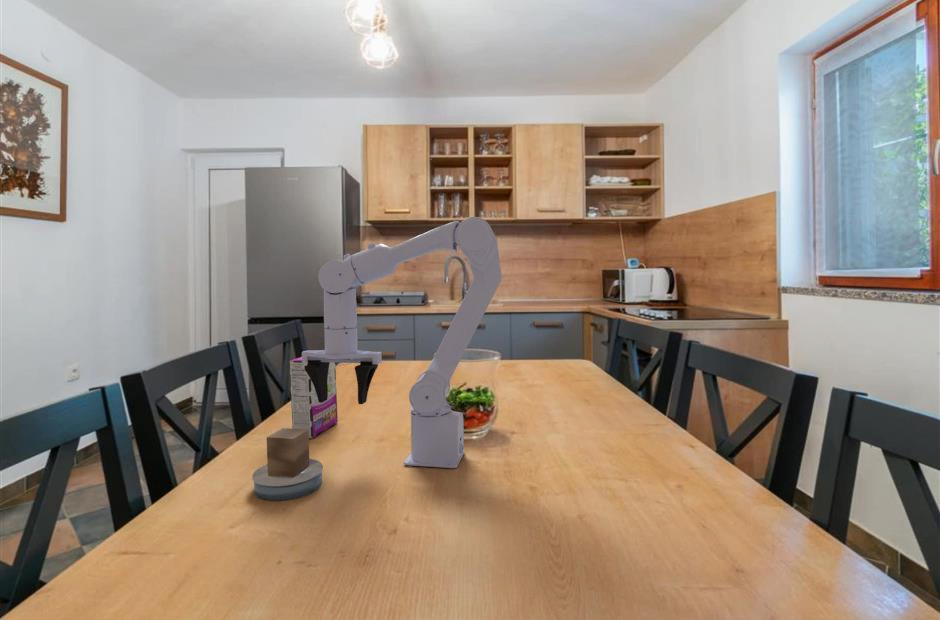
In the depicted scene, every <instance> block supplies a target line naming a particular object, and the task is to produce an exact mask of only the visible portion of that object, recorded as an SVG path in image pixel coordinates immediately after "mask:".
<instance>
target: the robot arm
mask: <svg viewBox="0 0 940 620" xmlns="http://www.w3.org/2000/svg"><path fill="white" fill-rule="evenodd" d="M457 247H458V248H459V249H460V251H461V253H462V254H463V255H464V257H466V259H467V261H468V264H469V268H470V270H471V273H472V276H473V280H472V282H471V284H470V285H469V286H468V287H469V288H468V290H467V291H466V293H465V296H464V297H463V300H462V301H461V303H460V305H459V307H458V308H457V311H456V313H455V315H454V317H453V319H452V321H451V322H450V325H449V326H448V329H447V331H446V332H445V334H444V336H443V338H442V340H441V341H440V344H439V346H438V348H437V351H436V352H435V354H434V356H433V358H432V359H431V362H430V363H429V365H428V367H427V369H426V370H425V371H423V372H422V373H421V374H420V376H419V377H418V379H417V381H416V382H415V383H414V384H413V385H412V386H411V388H410V390H409V393H408V394H409V395H408V397H409V398H408V400H409V404H410V406H411V407H410V445H411V446H410V451H411V452H410V454H409V455H408V456H407V458H406V459H405V460H404V462H403V464H404V465H405V466H411V467H413V466H416V467H432V468H444V469H445V468H446V469H447V468H448V469H457V468H458V466H459V465H460V462H461V460H462V458H463V456H464V454H465V449H464V448H465V446H464V445H465V443H464V441H465V440H464V439H465V438H464V435H465V433H464V427H465V426H464V415H463V412H461V411H454V410H452V408H451V405H450V404H449V403H448V401H447V400H446V399H447V396H448V394H449V392H450V388H451V380H452V378H453V375H454V373H455V371H456V369H457V367H458V365H459V363H460V362H461V359H462V357H463V356H464V353H465V352H466V351H467V348H468V346H469V345H470V342H471V340H472V338H473V336H474V334H475V332H476V330H477V329H478V327H479V325H480V323H481V320H482V319H483V316H484V315H485V313H486V311H487V310H488V307H489V306H490V303H491V301H492V299H493V298H494V295H495V294H496V292H497V290H498V287H499V286H500V284H501V282H502V277H503V276H502V269H501V262H500V253H499V246H498V240H497V237H496V235H495V232H494V231H493V229H492V227H491V225H490V224H489V222H487V220H485V219H484V218H481V217H478V216H469V217H467V218H465V219H463V220H462V221H459V220H458V221H456V220H455V221H451V222H449V223H446V224H444V225H440V226H437V227H435V228H433V229H430V230H428V231H427V232H424V233H422V234H419V235H417V236H415V237H412V238H410V239H407V240H406V241H404V242H401V243H399V244H396V245H394V246H391V247H390V246H388V245H386V244H385V243H384V244H383V243H379V244H377V243H376V242H375V243H374V242H372V243H369V244H368V245H367V248H366V249H364V250H361V251H359V252H356V253H354V254H350V253H347V254H344V255H343V260H340V259H336V258H335V259H333V258H332V259H330V260H329V261H327V262H326V263H324V264H323V265H322V266H321V267H320V269H319V271H318V275H317V276H318V283H319V284H320V287H321V288H322V289H323V323H324V324H323V325H324V332H323V333H324V349H321V350H320V349H319V350H316V349H315V350H303V351H302V352H301V357H302V362H308V363H307V365H306V366H304V367H305V371H306V372H307V374H308V375H309V377H310V379H311V381H312V383H313V385H314V388H315V390H316V394H317V397H318V401H319V402H320V403H322V402H324V401H326V400H327V397H328V386H327V379H328V370H329V364H330V362H335V363H342V364H343V363H345V364H357V365H356V366H354V371H355V376H356V381H357V383H356V384H357V403H358V405H364V404H365V403H366V402H367V400H368V393H369V390H370V387H371V386H370V385H371V383H372V380H373V377H374V375H375V373H376V371H377V369H378V367H379V364H381V363H382V359H383V357H382V351H369V350H358V310H357V309H358V307H357V306H358V304H357V303H358V302H357V288H359V286H361V287H363V286H365V285H368V284H370V283H373V282H376V281H378V280H381V279H383V278H386V277H389V276H391V275H393V274H395V272H396V270H397V267H398V266H399V265H400V264H402V263H405V262H407V261H410V260H414V259H417V258H419V257H422V256H425V255H428V254H431V253H434V252H436V251H441V250H442V251H447V252H455V253H456V252H457V251H458V250H457V249H458V248H457Z"/></svg>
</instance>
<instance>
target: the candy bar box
mask: <svg viewBox="0 0 940 620" xmlns="http://www.w3.org/2000/svg"><path fill="white" fill-rule="evenodd" d="M307 363H308V362H302V356H300V357H297V358H294V359H291V360H289V366H288V367H289V380H290V381H289V382H290V386H289V387H290V401H291V402H290V403H291V404H290V405H291V423H292V424H291V425H292V426H291V427H292V428H291V429H308V432H309V439H314V438H316V437H317V436H320V435H321V434H322V433H323V432H325V431H327V430H328V429H330V428H331V427H333V426H335V425H336V424H337V423H338V422H339V420H338V398H337V397H338V396H337V395H338V394H337V393H338V392H337V370H336V368H337V367H336V362H330V364H329V370H328V379H327V386H328V397H327V400H326V401H324V402H322V403H320V402H319V401H318V397H317V394H316V390H315V388H314V385H313V383H312V381H311V379H310V377H309V375H308V374H307V372H306V371H305V367H304V366H306V365H307Z"/></svg>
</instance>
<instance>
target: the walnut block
mask: <svg viewBox="0 0 940 620" xmlns="http://www.w3.org/2000/svg"><path fill="white" fill-rule="evenodd" d="M266 455H267V456H266V457H267V458H266V459H267V460H266V461H267V463H266V464H267V465H268V475H272V476H286V477H296V476H297V475H298V474H299V473H301V472H302V471H303V470H304V469H306V468H307V467H308V466H309V459H310V438H309V432H308V429H293V428H286V427H285V428H284V427H282V428H281V429H279V430H276V432H273V433H272V434H270V435H268V436H267V437H266Z"/></svg>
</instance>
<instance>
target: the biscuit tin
mask: <svg viewBox="0 0 940 620" xmlns="http://www.w3.org/2000/svg"><path fill="white" fill-rule="evenodd" d="M323 470H324V465H323V463H322V462H321V461H320V460H317V459H314V458H309V466H308V467H307V468H306V469H304V470H303V471H302V472H301V473H299V474H298V475H297V476H296V477H286V476H272V475H268V465H267V463H266V464H264V465H262V466H260V467H259V468H257V469H255V471H253V473H252V481H253V491H254V492H253V493H254V495H255V497H256V498H257V499H260V500H262V501H268V502H286V501H292V500H296V499H297V500H298V499H300V498H304V497H307V496H309V495H310V494H312V493H315V492H316V491H318V489H319V488H321V486H322V484H323V475H322V474H323Z"/></svg>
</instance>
